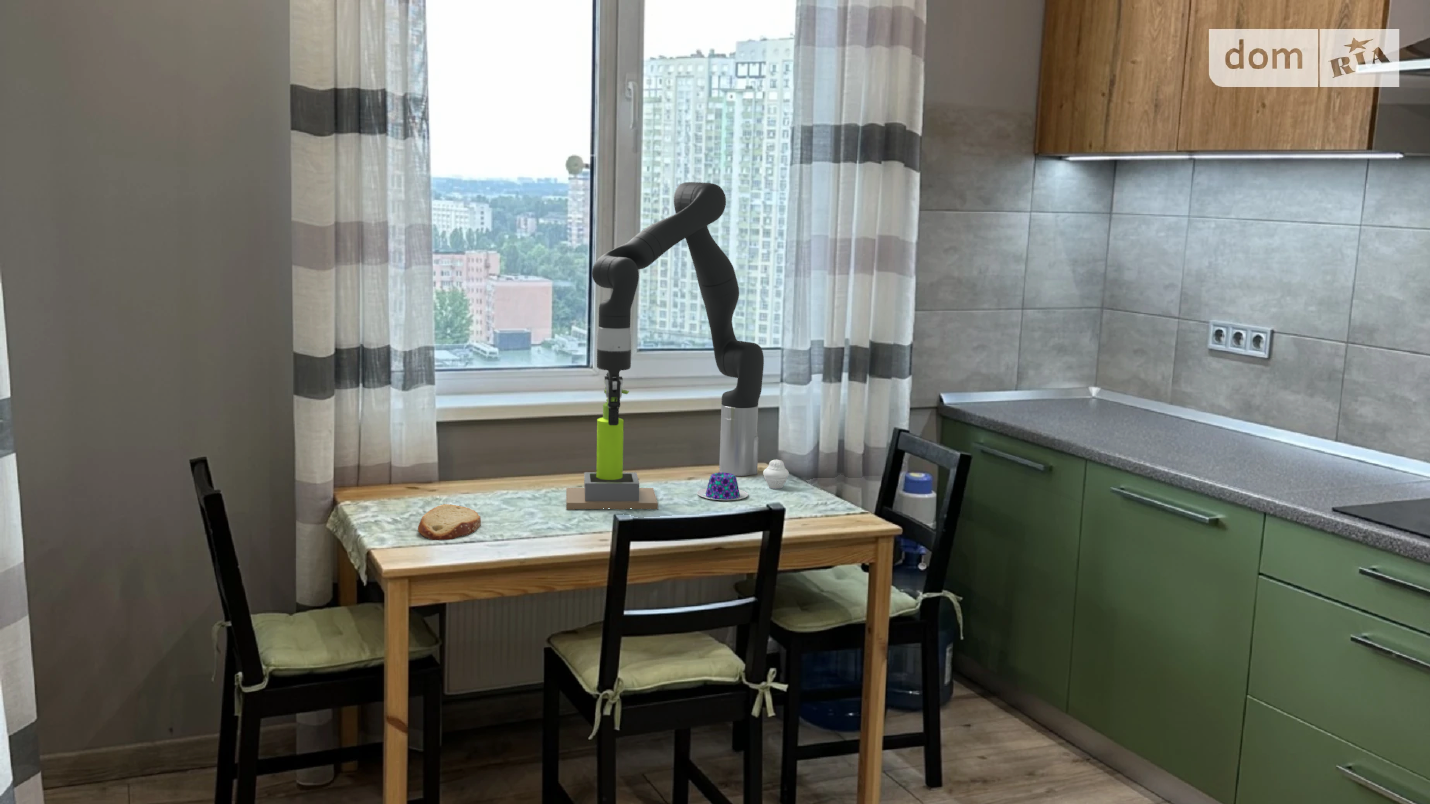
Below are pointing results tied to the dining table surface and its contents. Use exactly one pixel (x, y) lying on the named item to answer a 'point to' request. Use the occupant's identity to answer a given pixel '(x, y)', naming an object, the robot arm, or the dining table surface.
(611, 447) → the soap dispenser
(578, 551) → the dining table surface
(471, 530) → the bread slice
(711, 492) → the pudding
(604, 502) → the soap caddy
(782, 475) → the white lidded jar
